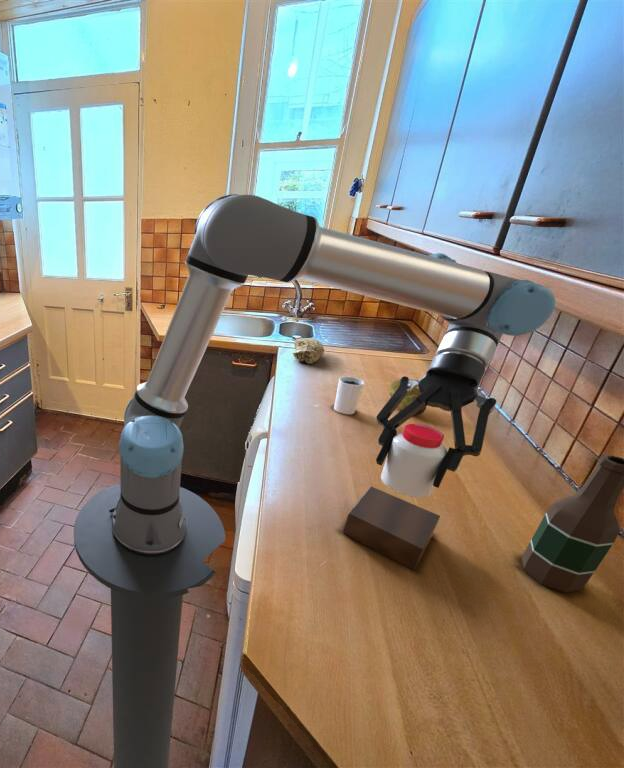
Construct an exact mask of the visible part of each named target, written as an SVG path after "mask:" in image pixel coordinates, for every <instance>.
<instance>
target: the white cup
mask: <svg viewBox="0 0 624 768" xmlns="http://www.w3.org/2000/svg"><path fill="white" fill-rule="evenodd" d="M364 386H365V381H364V380H362V379H361V378H359V377H355V376H349V375H348V376H347V375H345V376H344V375H343V376H340V377H339V378H338V385H337V390H336V396H335V400H334V405H333V409H334V411H336V412H337V413H340V414H343V415H353V414H355V413H356V409H357V406H358V403H359V400H360V398H361V394H362V392H363V389H364Z"/></svg>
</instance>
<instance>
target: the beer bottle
mask: <svg viewBox="0 0 624 768" xmlns="http://www.w3.org/2000/svg"><path fill="white" fill-rule="evenodd" d="M597 462H598V464H597V465H596V466H595V468H594V469H593V471H592V472H591V473H590V475H589V476H588V478H587V479H586V481H585V482H584V483H583V485H582V486H581V487H580V488H579V489H578V490H577V491H576V492H575V493H574V494H572V495H569V496H567V497H563V498H560V499H558V500H557V501H555V502H554V503H552V504H551V505H550V507H549V508H548V510H547V511H546V512H545V514H544V515H543V518H542V520H541V521H540V523H539V525H538V527H537V528H536V530H535V532H534V534H533V536H532V538H531V539H530V541H529V543H528V544H527V546H526V548H525V550H524V552H523V554H522V557H521V561H522V567H523V571H524V572H525V573H527V575H529V576H530V577H531V578H533V579H534V580H536V582H538V583H539V584H541V585H542V586H546V587H548V588H551V589H553V590H556V591H559V592H561V593H571V592H578V591H582V589H584V587H585V586H586V585H587V584H588V582H589V581H590V579H591V578H592V576H593V575H594V573H595V572H596V570H597V569H598V567H600V566H599V565H601V563H602V561H603V560H604V558H605V557H606V556H607V554H608V552H609V551H610V550H611V548H612V547H613V545H614V544H615V541H616V539H617V537H618V536H619V533H620V532H619V521H618V518H617V516H616V513H615V508H616V504H617V501H618V499H619V497H620V496H621V493H622V491H623V489H624V458H623V457H620V456H615V455H610V454H607V455H602V456H600V457H599V458H598V459H597Z"/></svg>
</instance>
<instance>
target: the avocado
mask: <svg viewBox="0 0 624 768" xmlns="http://www.w3.org/2000/svg"><path fill="white" fill-rule="evenodd" d="M400 380H401V379H397V380H394V381H393V382H392V383H391V384H390V387H389V396H390V398H391V397H392V395H393V394H394V393H395V391H396V390H397V389H398V387H399V385H400ZM420 394H421V393H420V391H419V388H418V387H415V388H413V390H412V391H407V394H406V396H405V397H404V399H403V400H402V401H401V403H400V404H399V405H398V407H397V408H396V409H398V410H400V411H401V410H403V409H404V408H405V407H406V406H408V405H409V404H410V403H412V402H413V401H414V400H415V399H416V398H417V397H418V396H419V395H420ZM426 410H427V406H426V407H425V408H424V409H421V410H420V411H418V412H417V413H416V414H415V415H414V416H416V415H417V416H418V415H422V414H423V413H424V412H425V411H426Z"/></svg>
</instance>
